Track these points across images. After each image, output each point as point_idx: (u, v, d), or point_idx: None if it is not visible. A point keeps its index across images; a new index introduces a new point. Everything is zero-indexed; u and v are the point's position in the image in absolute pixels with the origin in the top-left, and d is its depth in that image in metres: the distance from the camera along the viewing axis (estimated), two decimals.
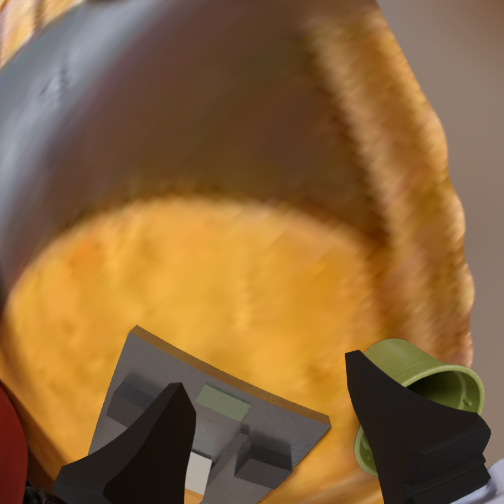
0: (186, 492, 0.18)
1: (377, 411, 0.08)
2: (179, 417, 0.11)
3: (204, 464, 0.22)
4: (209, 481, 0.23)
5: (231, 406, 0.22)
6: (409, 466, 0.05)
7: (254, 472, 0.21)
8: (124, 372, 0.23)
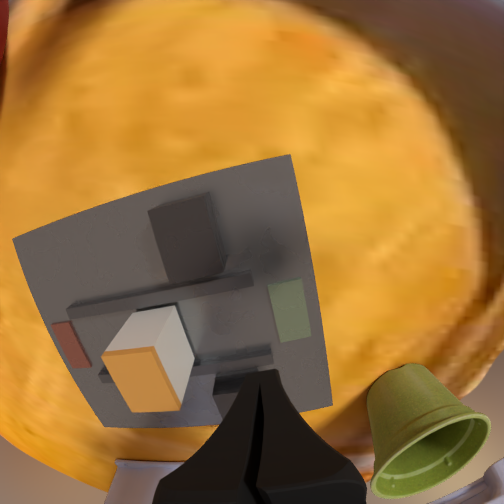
0: (170, 390, 0.14)
1: None
2: None
3: (189, 359, 0.19)
4: None
5: (294, 321, 0.19)
6: (264, 499, 0.06)
7: None
8: (223, 185, 0.17)
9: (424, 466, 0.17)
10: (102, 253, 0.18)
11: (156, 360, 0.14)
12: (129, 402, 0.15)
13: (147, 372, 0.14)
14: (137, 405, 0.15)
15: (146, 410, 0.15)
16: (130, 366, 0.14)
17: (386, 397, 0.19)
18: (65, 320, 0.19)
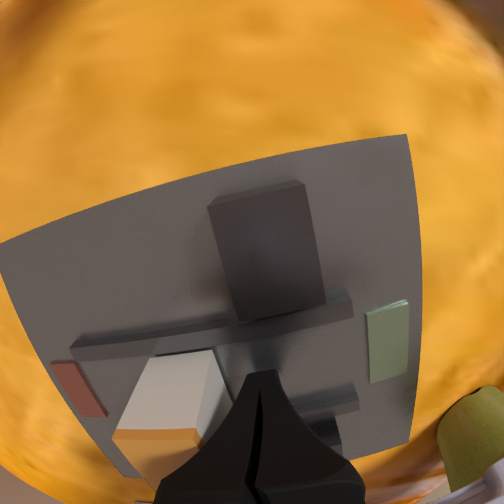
0: None
1: None
2: None
3: None
4: None
5: (391, 357, 0.13)
6: (263, 499, 0.06)
7: None
8: (318, 170, 0.11)
9: None
10: (122, 271, 0.12)
11: (200, 448, 0.08)
12: (156, 487, 0.09)
13: (185, 461, 0.08)
14: None
15: None
16: (158, 453, 0.08)
17: (467, 428, 0.14)
18: (69, 359, 0.14)
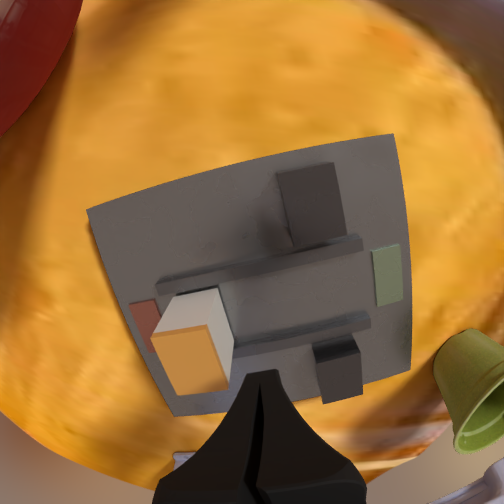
0: (221, 369, 0.15)
1: None
2: None
3: (230, 341, 0.19)
4: (259, 351, 0.20)
5: (391, 285, 0.19)
6: (264, 499, 0.06)
7: (339, 372, 0.19)
8: (338, 156, 0.17)
9: (486, 423, 0.18)
10: (207, 221, 0.18)
11: (209, 338, 0.15)
12: (175, 385, 0.16)
13: (199, 351, 0.15)
14: (184, 387, 0.16)
15: (193, 392, 0.16)
16: (181, 346, 0.15)
17: (457, 358, 0.20)
18: (148, 298, 0.20)
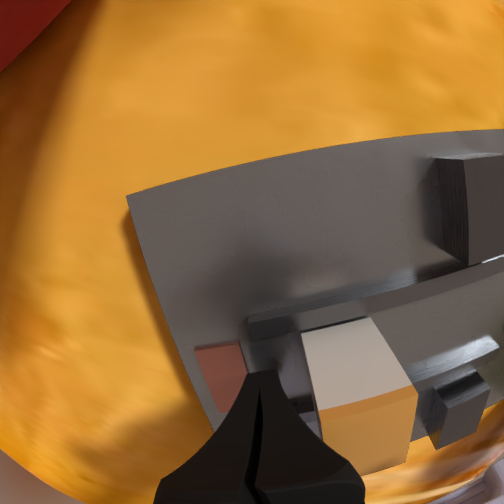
0: (408, 441, 0.08)
1: None
2: None
3: None
4: None
5: None
6: (262, 499, 0.06)
7: (465, 413, 0.12)
8: (496, 147, 0.10)
9: None
10: (341, 223, 0.11)
11: (415, 406, 0.08)
12: None
13: (393, 426, 0.08)
14: None
15: None
16: (370, 425, 0.08)
17: None
18: (228, 341, 0.13)
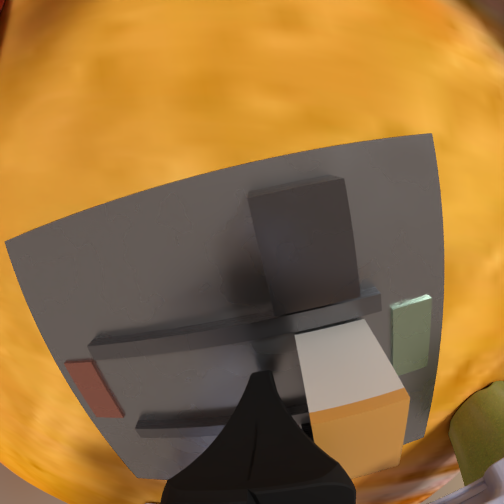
0: (401, 444, 0.08)
1: None
2: None
3: None
4: None
5: (413, 351, 0.13)
6: (253, 500, 0.06)
7: None
8: (350, 166, 0.11)
9: None
10: (148, 266, 0.12)
11: (407, 409, 0.08)
12: None
13: (385, 429, 0.08)
14: None
15: None
16: (362, 428, 0.08)
17: (480, 422, 0.14)
18: (85, 358, 0.14)
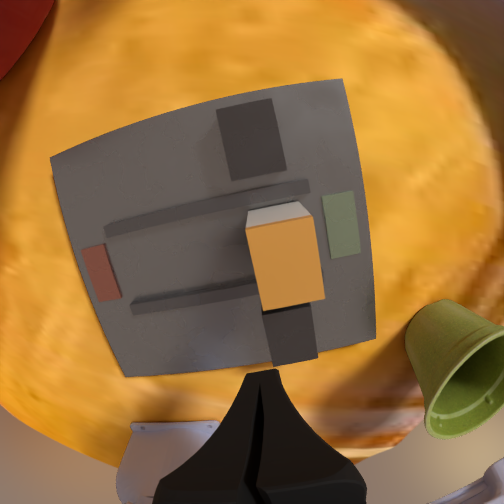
0: None
1: None
2: None
3: None
4: (203, 301, 0.20)
5: (345, 235, 0.19)
6: (264, 499, 0.06)
7: (288, 328, 0.19)
8: (283, 99, 0.17)
9: (466, 406, 0.18)
10: (154, 163, 0.18)
11: None
12: (264, 295, 0.15)
13: (301, 246, 0.14)
14: (274, 298, 0.15)
15: (284, 304, 0.15)
16: (282, 239, 0.14)
17: (428, 327, 0.20)
18: (99, 243, 0.19)
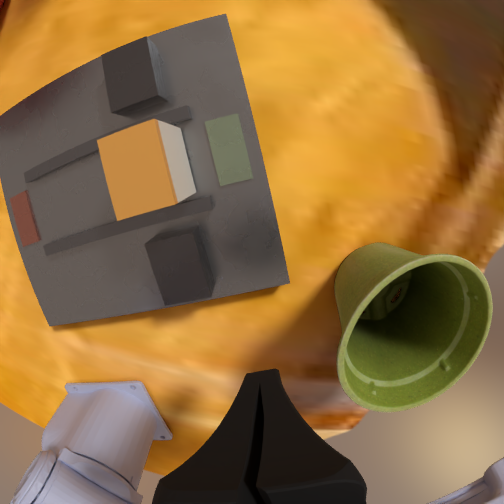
0: (167, 173, 0.13)
1: None
2: None
3: (191, 184, 0.17)
4: (99, 236, 0.19)
5: (233, 160, 0.18)
6: (264, 499, 0.06)
7: (172, 258, 0.18)
8: (168, 40, 0.16)
9: (415, 373, 0.16)
10: (63, 113, 0.17)
11: (157, 131, 0.13)
12: (116, 203, 0.13)
13: (145, 148, 0.13)
14: (125, 206, 0.13)
15: (135, 212, 0.14)
16: (127, 144, 0.13)
17: (352, 268, 0.18)
18: (23, 190, 0.18)
